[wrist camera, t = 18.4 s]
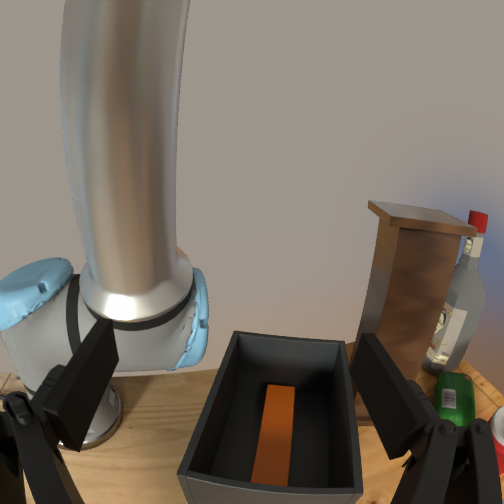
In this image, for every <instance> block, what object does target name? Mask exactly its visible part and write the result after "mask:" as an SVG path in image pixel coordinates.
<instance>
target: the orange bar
mask: <svg viewBox="0 0 504 504" xmlns="http://www.w3.org/2000/svg"><path fill="white" fill-rule="evenodd" d="M294 394H295V387H290V386H278V385H268V386H267V392H266V398H265V404H264V410H263V416H262V422H261V428H260V434H259V440H258V445H257V451H256V456H255V462H254V467H253V472H252V477H251V483H258V484H267V485H277V486H288V476H289V465H290V453H291V441H292V427H293V412H294Z"/></svg>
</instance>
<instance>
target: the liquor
mask: <svg viewBox="0 0 504 504" xmlns="http://www.w3.org/2000/svg"><path fill="white" fill-rule="evenodd" d="M487 220H488V215H487V214H484V213H481V212H477V211H472V210H471V211H470V214H469V219H468V224H470V225H472V226H474V227H476V228H478V231H477V236H476V237H470V236H466V239H465V244H464V249H463V253H462V257H461V258H460V260H459V264H457V265H456V266H455V268H454V272H453V276H452V279H451V283H450V287H449V290H448V293H447V297H446V300H445V303H444V307H443V310H442V313H441V316H440V319H439V322H438V324H437V327H436V330H435V333H434V336H433V338H432V341H431V343H430V346H429V349H428V351H427V354H426V356H425V358H424V361H423V363H422V367H423V368H424V369H425V370H426V371H427V372H428V373H431V374H434V375H440V374H441V373H442V372H450V371H452V370H454V369H456V368H457V367H458V366H459V364H460V362H461V360H462V358H463V356H464V354H465V351H466V349H467V347H468V344H469V342H470V340H471V337H472V335H473V332H474V330H475V327H476V325H477V322H478V320H479V317H480V314H481V311H482V309H483V306H484V303H485V300H486V291H485V288H484V285H483V283H482V280H481V278H480V275H479V272H478V267H479V265H478V261H479V257H480V252H481V248H482V243H483V238H484V233H485V232H486V226H487Z"/></svg>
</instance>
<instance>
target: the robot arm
mask: <svg viewBox="0 0 504 504" xmlns="http://www.w3.org/2000/svg"><path fill="white" fill-rule="evenodd" d="M189 4H190V0H65V5H64V14H63V23H62V35H61V54H60V94H61V95H60V96H61V116H62V129H63V140H64V148H65V157H66V164H67V171H68V178H69V184H70V189H71V194H72V200H73V206H74V210H75V215H76V220H77V224H78V228H79V233H80V237H81V241H82V245H83V248H84V253H85V256H86V260H87V262H86V263H85V265H84V267H83V269H82V271H81V274H73V271H74V270H73V267H72V265H71V264H70V262H69V261H68V260H67V259H62V258H49V259H43V260H40V261H37V262H33V263H30V264H28V265H25V266H23V267H21V268H19V269H17V270H15V271H13V272H12V273H10V274H9V275H7V276H6V277H5V278H3V279H2V280H1V281H0V335H1V337H2V340H3V342H4V344H5V347H6V349H7V351H8V354H9V356H10V358H11V360H12V362H13V364H14V367H15V368H16V371H17V372H18V375H19V377H20V378H21V380H22V382H23V384H24V386H25V388H26V390H27V394H25V393H24V392H20V391H15V392H12V393H9V394H8V395H7V396H3V395H0V399H1V400H3V408H4V409H5V411H6V412H1V411H0V504H26V496H25V488H24V477H23V469H24V473H25V476H26V479H27V482H28V485H29V487H30V490H31V493H32V496H33V498H34V501H35V503H36V504H85V503H84V501H83V500H82V498H81V496H80V494H79V492H78V490H77V488H76V486H75V484H74V482H73V480H72V478H71V476H70V473H69V471H68V469H67V467H66V465H65V462H64V460H63V458H62V455H61V453H60V450H59V448H61V449H65V450H71V451H77V452H80V451H81V450H87V449H91V448H94V447H97V446H99V445H101V444H102V443H104V442H106V441H107V440H108V439H109V438H110V437H112V436H113V434H114V433H115V432H116V431H117V429H118V427H119V426H120V423H121V420H122V416H123V407H122V403H121V400H120V397H119V395H118V392H117V390H116V389H115V387H114V386H113V385H112V384H111V383H110V379H111V377H112V375H113V373H114V372H126V371H127V372H128V371H148V370H167V371H173V370H176V369H177V368H184V367H190V366H194V365H196V364H197V363H199V362H200V361H201V360H202V358H203V356H204V354H205V351H206V346H207V341H208V323H207V321H208V316H209V305H208V294H207V287H206V282H205V278H204V275H203V273H202V272H201V270H200V269H198V268H194V267H192V265H191V262H190V260H189V258H188V257H187V255H186V254H185V253H184V252H183V251H182V250H181V249H180V248H178V247H177V246H176V152H177V127H178V109H179V94H180V80H181V70H182V59H183V50H184V41H185V32H186V25H187V18H188V10H189ZM349 373H350V375H351V377H352V379H353V381H354V383H355V385H356V388H357V390H358V392H359V394H360V396H361V398H362V400H363V402H364V405H365V407H366V409H367V411H368V413H369V415H370V417H371V420H372V422H373V424H374V426H375V428H376V430H377V433H378V435H379V437H380V439H381V442H382V444H383V446H384V448H385V450H386V453H387V455H388V457H389V460H392V459H395V458H399V457H402V456H404V455H405V454H406V452H407V451H408V450H409V449H410V451H411V453H412V454H411V456H410V457H409V458H408V459H407V460H406V462H405V463H404V464H403V466H402V467H404V466H405V465H406V464H407V465H406V468H405V470H404V473H403V475H402V478H401V480H400V483H399V485H398V488H397V490H396V492H395V495H394V497H393V499H392V501H391V503H390V504H502V492H501V482H500V474H499V467H498V461H497V455H496V449H495V444H494V439H493V435H492V430H491V427H490V425H489V423H488V422H487V421H485V420H484V419H480V418H477V419H474V420H472V422H471V423H470V424H469V426H456V424H455V423H454V422H452V421H450V420H448V419H442V418H441V417H440V415H439V414H438V412H437V411H436V409H435V408H434V406H433V405H432V403H431V402H430V400H429V399H428V397H427V396H426V394H424V392H423V390H422V389H421V387H420V386H419V385H418V384H417V383H416V382H414V381H413V380H412V379H411V380H406V379H405V377H404V376H403V374H402V373H401V371H400V370H399V368H398V367H397V365H396V364H395V362H394V361H393V360H392V358H391V357H390V355H389V354H388V352H387V351H386V349H385V348H384V346H383V345H382V344H381V342H380V341H379V339H378V338H377V336H376V335H375V334H374V333H362V334H361V337H360V340H359V343H358V346H357V349H356V352H355V355H354V358H353V361H352V364H351V367H350V369H349Z"/></svg>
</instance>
